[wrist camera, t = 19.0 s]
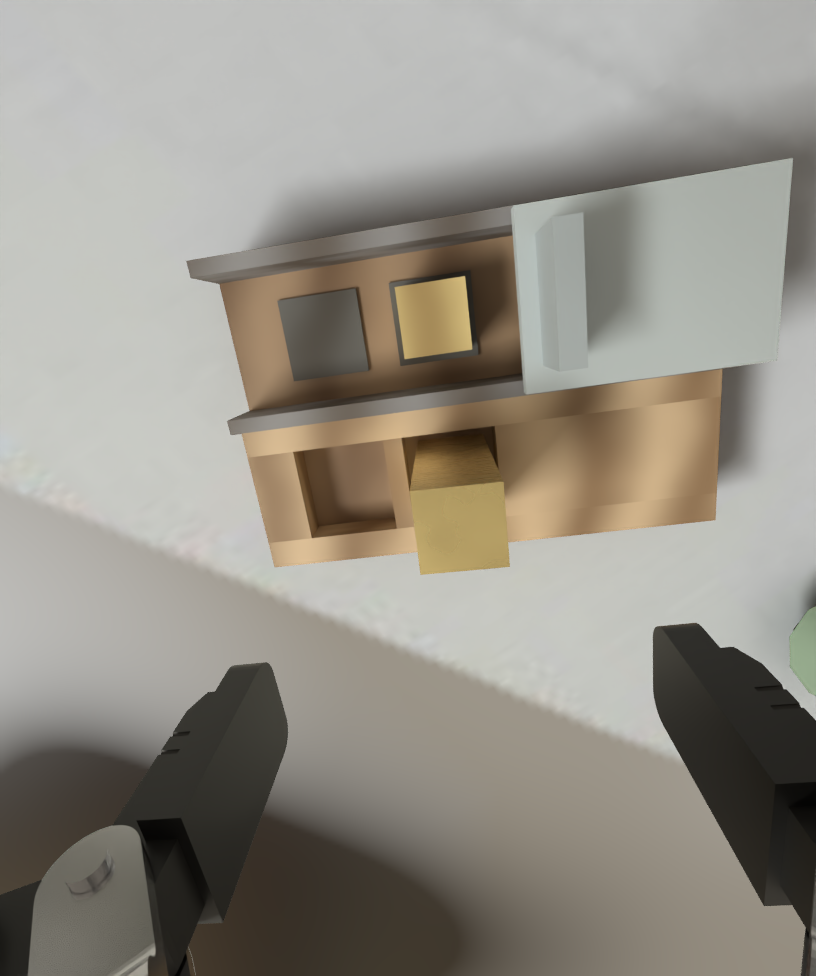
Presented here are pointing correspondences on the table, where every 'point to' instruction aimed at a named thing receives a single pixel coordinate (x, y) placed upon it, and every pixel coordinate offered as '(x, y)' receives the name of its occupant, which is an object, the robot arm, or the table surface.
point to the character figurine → (805, 650)
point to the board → (437, 395)
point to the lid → (652, 277)
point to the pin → (458, 506)
